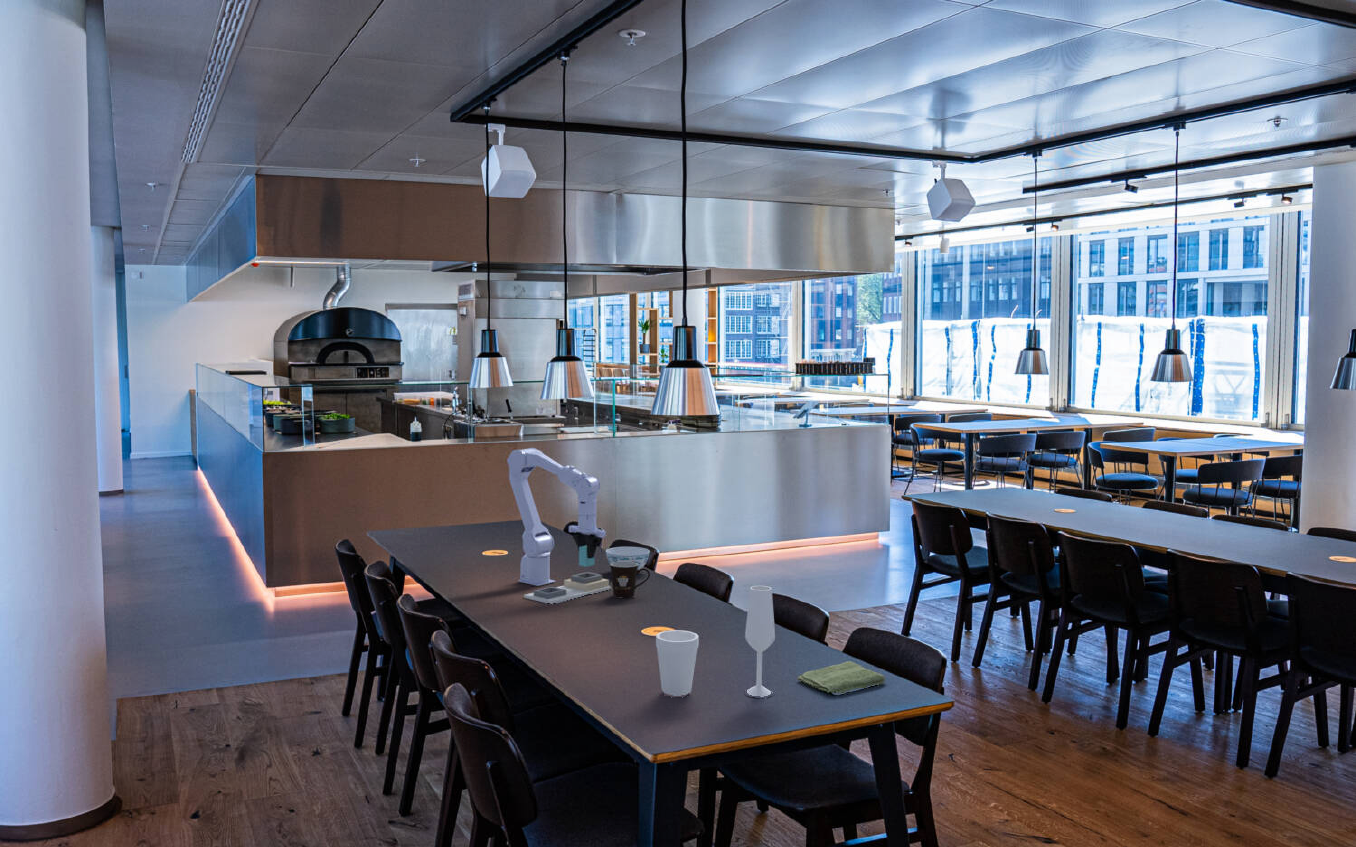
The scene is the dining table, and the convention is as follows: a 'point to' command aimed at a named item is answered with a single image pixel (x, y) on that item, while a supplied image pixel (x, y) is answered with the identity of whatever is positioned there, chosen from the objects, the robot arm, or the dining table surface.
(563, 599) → the panel
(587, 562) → the plug
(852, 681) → the washcloth
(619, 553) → the chinaware
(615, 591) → the coffee mug
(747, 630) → the champagne flute
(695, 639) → the foam cup
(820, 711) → the dining table surface
